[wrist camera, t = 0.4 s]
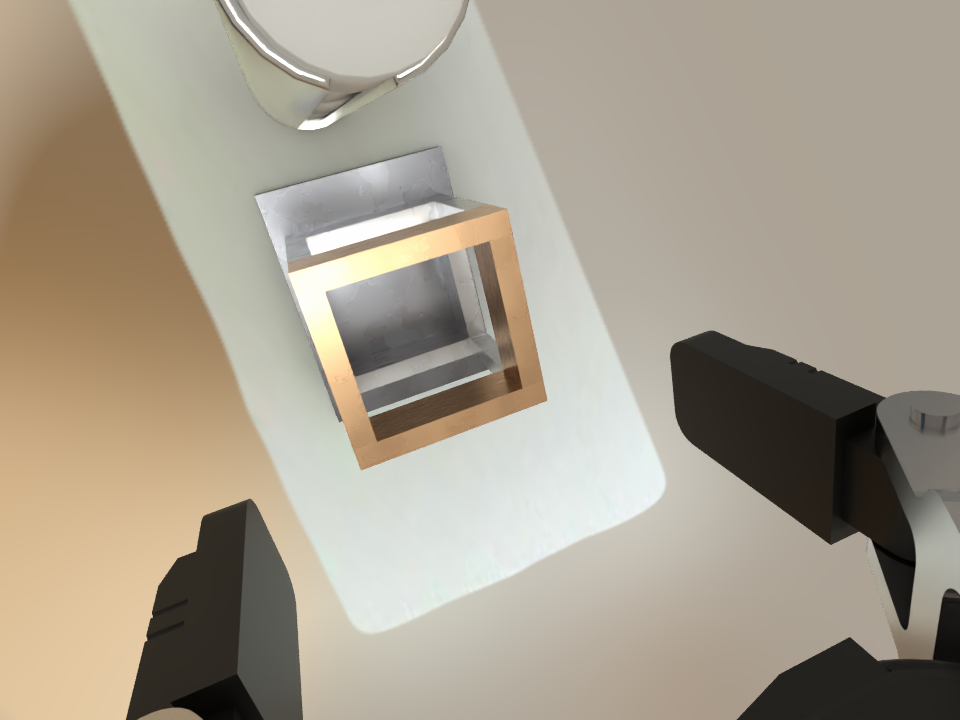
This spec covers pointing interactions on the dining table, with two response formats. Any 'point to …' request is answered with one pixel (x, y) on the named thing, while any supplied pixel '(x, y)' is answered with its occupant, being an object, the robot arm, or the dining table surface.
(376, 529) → the dining table surface
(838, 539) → the robot arm
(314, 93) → the grey cylinder
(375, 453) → the collar stand
